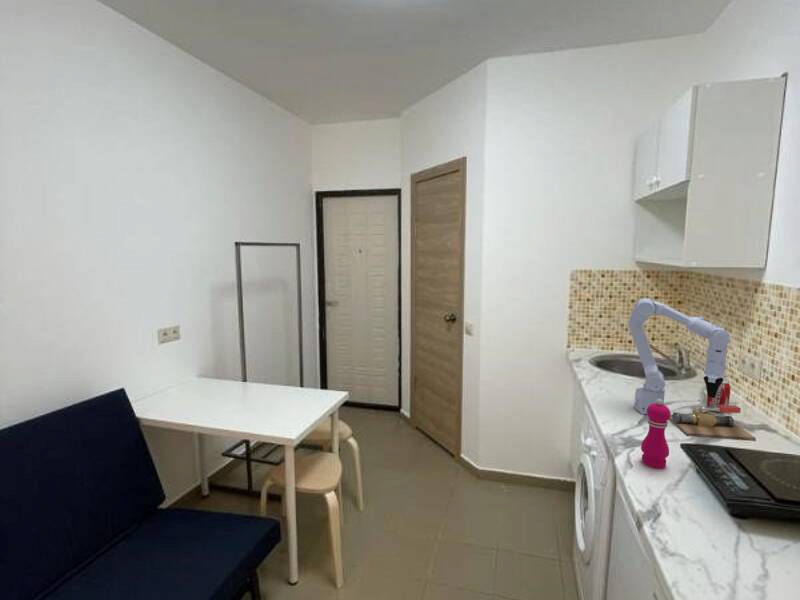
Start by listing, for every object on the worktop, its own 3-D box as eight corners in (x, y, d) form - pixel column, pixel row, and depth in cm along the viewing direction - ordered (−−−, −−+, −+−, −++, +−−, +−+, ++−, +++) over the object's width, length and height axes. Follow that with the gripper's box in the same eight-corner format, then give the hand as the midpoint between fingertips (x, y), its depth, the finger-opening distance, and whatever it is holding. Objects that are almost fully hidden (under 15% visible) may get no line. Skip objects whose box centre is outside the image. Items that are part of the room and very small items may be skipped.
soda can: (731, 414, 166) (735, 384, 165) (711, 412, 168) (714, 382, 166) (722, 407, 173) (725, 378, 171) (702, 405, 174) (705, 377, 173)
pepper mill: (642, 454, 134) (648, 392, 131) (669, 462, 129) (676, 398, 127) (637, 464, 128) (643, 399, 126) (665, 472, 124) (672, 405, 121)
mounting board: (686, 435, 148) (687, 432, 147) (665, 416, 163) (666, 414, 163) (755, 440, 144) (755, 437, 144) (727, 421, 160) (727, 418, 160)
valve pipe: (677, 425, 154) (678, 412, 153) (671, 420, 159) (672, 407, 158) (734, 429, 151) (735, 416, 150) (726, 423, 156) (727, 410, 155)
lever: (701, 412, 153) (702, 406, 153) (697, 409, 155) (698, 403, 155) (740, 413, 152) (740, 408, 152) (735, 410, 154) (735, 405, 154)
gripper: (727, 367, 149) (723, 405, 150) (731, 359, 159) (726, 394, 161) (703, 363, 153) (698, 400, 155) (707, 355, 164) (703, 389, 166)
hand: (711, 396), depth 158 cm, fingers closed
